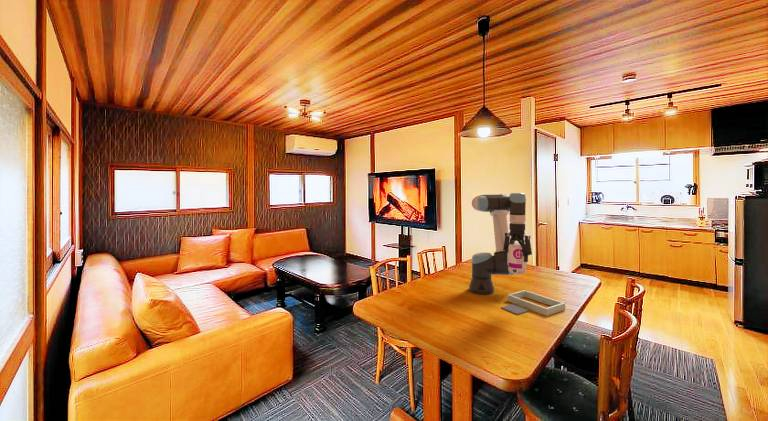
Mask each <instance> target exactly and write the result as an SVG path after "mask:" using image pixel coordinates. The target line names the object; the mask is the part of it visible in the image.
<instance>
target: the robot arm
mask: <svg viewBox="0 0 768 421" xmlns="http://www.w3.org/2000/svg"><path fill="white" fill-rule="evenodd" d="M526 201H527V197H526V193H524V192H511V193H509V195H507V194H502V193H500V194H480V195H477V196H475V197H473V199H472V201H471V207H472V208H473V210H475V211H478V212H484V213H489V215H490V216H491V217H492V221H493V232H494V234H493V235H494V244H495V251H494V252H493V254H492V253H490V252H478V253H475V254H473V255H472V256H471V279H470V283H469V285H468V291H469V292H471V293H474V294H477V295H491V294H493V293H495V287H494V283H493V281H492V280H493V279H492V275H495V276H496V275H497V276H498V275H499V276H501V275H502V276H513V275H515V274H513V273H510V272H509V271H508V247H509V245H510V244H513V243H516V242H517V243H519V244H520V245H521V247H522V252H523V256H522V268H523V269H524V268H525V269H527V268H528V266H527V264H528V262H529V256H531V255H533V254H532V253H533V252H532V247H531V246H532V244H531V235H529V234H526V233H525V232H526V224H525V223H526V203H527V202H526ZM508 215H509V225H508Z"/></svg>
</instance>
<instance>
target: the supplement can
mask: <svg viewBox="0 0 768 421" xmlns="http://www.w3.org/2000/svg"><path fill="white" fill-rule="evenodd" d="M522 256H523V252H522V247H521V245H520V244H519V243H518V242H514V243H513V244H510V245H509V247H508V271H509V272H510V273H513V274H514V275H524V274H525V273H526V268H524V269H523V268H522Z"/></svg>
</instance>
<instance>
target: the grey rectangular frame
mask: <svg viewBox="0 0 768 421" xmlns="http://www.w3.org/2000/svg"><path fill="white" fill-rule="evenodd" d="M506 295H507V296H506V300H507V301H508V302H510V303H512V304H517V305H519V306H522V307H524V308H527V309H530V310H531V311H533V312H535V313H538V314H540V315H544V316H546V317H548V316H551V315H553V314H557V313H559V312H563V311H565V310H566V303H565V302H563V301H560V300H556V299H553V298H550V297H547V296H544V295H541V294H538V293H536V292H532V291H528V290H525V289H523V290H520V291H517V292H511V293H508V294H506ZM522 298H528V299H531V300H533V301H537V302H539V303H542V304H545V305H548V307H544V306H542V305H539V304H537V303H534V302H531V301H528V300H525V299H522Z"/></svg>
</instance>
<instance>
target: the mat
mask: <svg viewBox="0 0 768 421" xmlns="http://www.w3.org/2000/svg"><path fill="white" fill-rule="evenodd" d="M501 309H502V310H505V311H508V312H509V313H512V314H514V315H517V316H519V315H521V314H522V315H523V314H525V313H528V312H531V311H532V310H530V309H528V308H525V307H522V306H520V305H517V304H515V303H512V304H508V305H504V306H502V307H501Z"/></svg>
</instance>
